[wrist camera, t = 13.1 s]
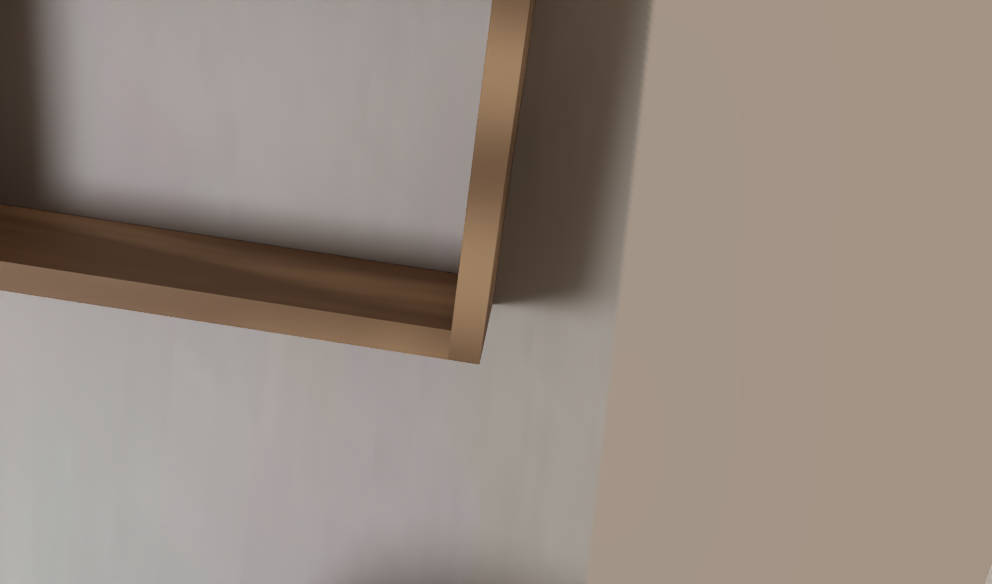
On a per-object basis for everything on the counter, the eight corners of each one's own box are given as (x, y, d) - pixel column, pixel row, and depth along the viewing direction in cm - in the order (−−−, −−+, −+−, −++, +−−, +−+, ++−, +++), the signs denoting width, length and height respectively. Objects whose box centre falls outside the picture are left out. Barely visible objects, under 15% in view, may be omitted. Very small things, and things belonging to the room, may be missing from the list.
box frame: (492, 304, 37) (479, 364, 31) (-44, 222, 37) (-151, 266, 32) (541, -43, 32) (536, -46, 26) (-83, -132, 32) (-219, -154, 27)
